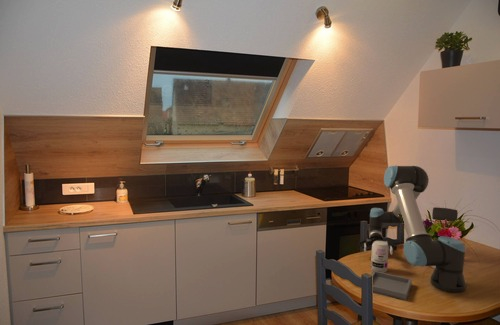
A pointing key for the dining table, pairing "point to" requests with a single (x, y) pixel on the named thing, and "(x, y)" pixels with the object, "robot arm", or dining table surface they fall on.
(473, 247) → the dining table surface
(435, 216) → the rubber mallet
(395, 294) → the tray
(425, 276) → the dining table surface
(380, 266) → the supplement can
